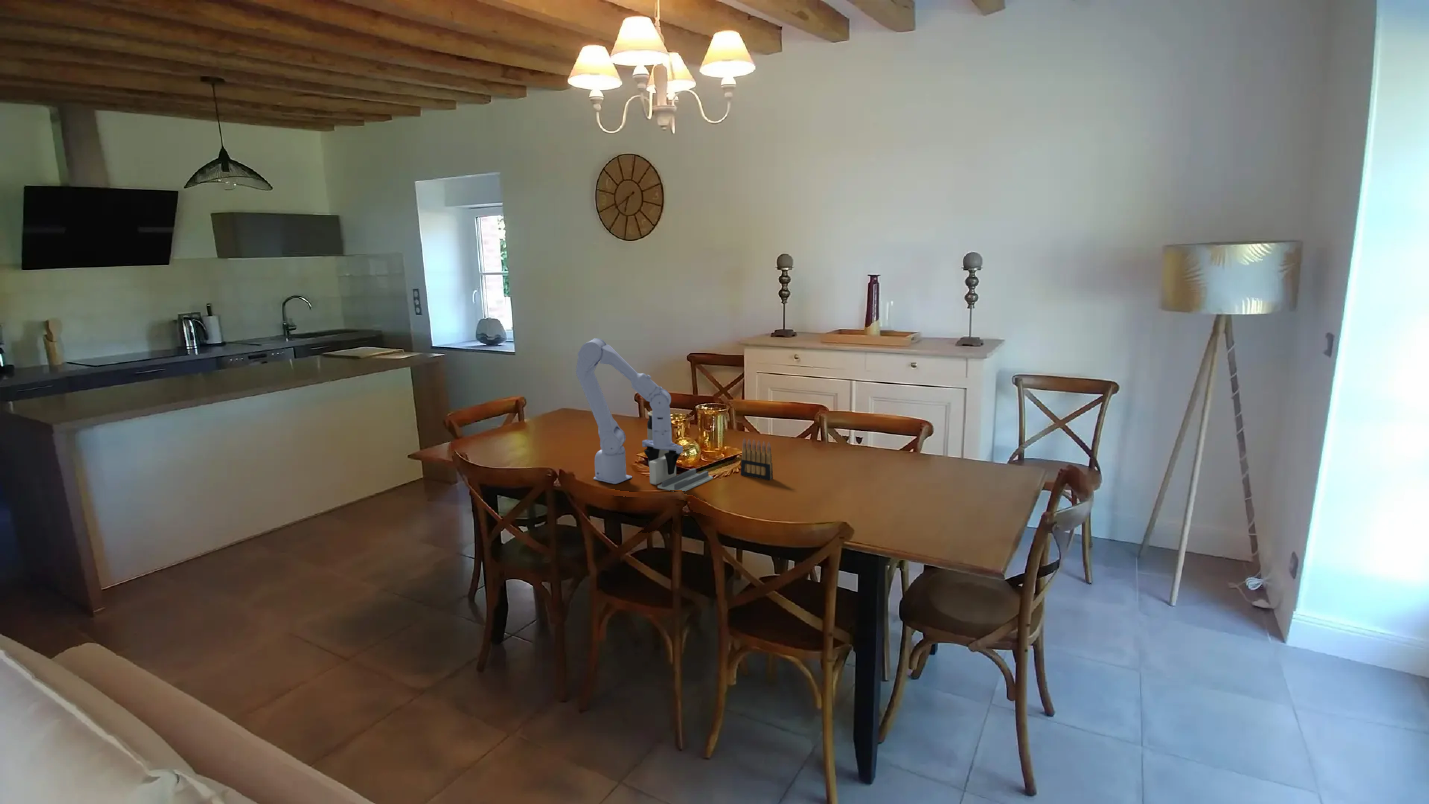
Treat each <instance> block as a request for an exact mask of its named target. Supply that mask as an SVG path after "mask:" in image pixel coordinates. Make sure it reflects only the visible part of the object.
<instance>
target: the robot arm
mask: <svg viewBox="0 0 1429 804" xmlns="http://www.w3.org/2000/svg"><path fill="white" fill-rule="evenodd" d="M598 364H602V365H611V366H612V368H614V369H615V370H616V371H618V372H619V373H620V374H622V375H623V376H624V377H625V378H626V379H628V380H629V381H630V383H631V385H630V386H631V388H632V389H633V390H634V391H635V392H636V393H637V394H639V395H640V396H641V397H642V398H643V399H644V400H645V401H646V402H649V406H650V408H651V409H652V410H651V411H652V433H653V440H648V439H643V440H642V441H641V443H642V445H641V446H642V448H646V449H644V450H643V453H644V454H645V455H646V457H647V460H648V463H649V462H650V461H652V460H655V459H658V457H659V451H660V449H661V450H666V451H669V452H668V453H665V454H664V455H665V457H666V461H667V469H668V475H671V474H673V473H674V470H675V466H676V467H677V463H678V459H679V458H680V456H681V454H682V453H684V452H683V451H684V450H683V449H684V447H683V446H682V445H679V444H676V443H674V442H673V440H672V441H671V422H672V418H671V417H672V415H671V414H670V413H671V407H670V405H671V402H672V396H671V394H670V393H669V391H668V390H667V389H664V388H663V387H662V386H661V385H660V386H659V385H658V384H657V383H656V382H655V381H654V380H652V379H651V378H652V375H649V374H646V373H645V372H642V373H639V372H637V370H635V368H633V367H632V366H631V364H630V363H628V362H627V360H626V359H624V358H623V357H622V356H621V354H619V353H618V352H617V351H616V350H615V349H614V348H613V347H612V345H610V344H609V343H608V344H607V342H606V341H604V340H603V339H602V338H597V337H595V338H592V339H590V340H589V341H587V342H585V343H584V344H582V346H581V347H580V349H579V351H578V352H577V363H576V369H575V374H576V376H577V379H578V381H579V384H580V386H581V389H582V391H583V393H584V395H585V399H586V401H587V402H588V405H589V409H590V410H591V412H592V415H593V417H594V419H595V422H596V425H597V427H598V428H597V429H598V431H597V432H598V437H599V440H600V441H599V445H600V450H598V451H597V452H596V454H595V455H594V474H595V475H594V477H593V480H595V481H600V482H604V483H608V484H613V485H617V484H619V483H622V482H624V481H627V480H629V479H632V478H633V476H632V475H629V474H627V465H626V463H627V462H626V449H625V447H624V445H623V444H625V442H626V436H627V435H626V434H625V431H624V430H623V429H622V428H621V427H620V426H619V424H618V422H617V421H616V420H615V419H614V418H613V415H612V412H611V411H610V407H609V405H608V402H607V400H606V398H605V395H604V393H603V391H602V388H601V386H600V383H599V381H598V379H597V376H596V374H595V370H596V368H597V366H598Z"/></svg>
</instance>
